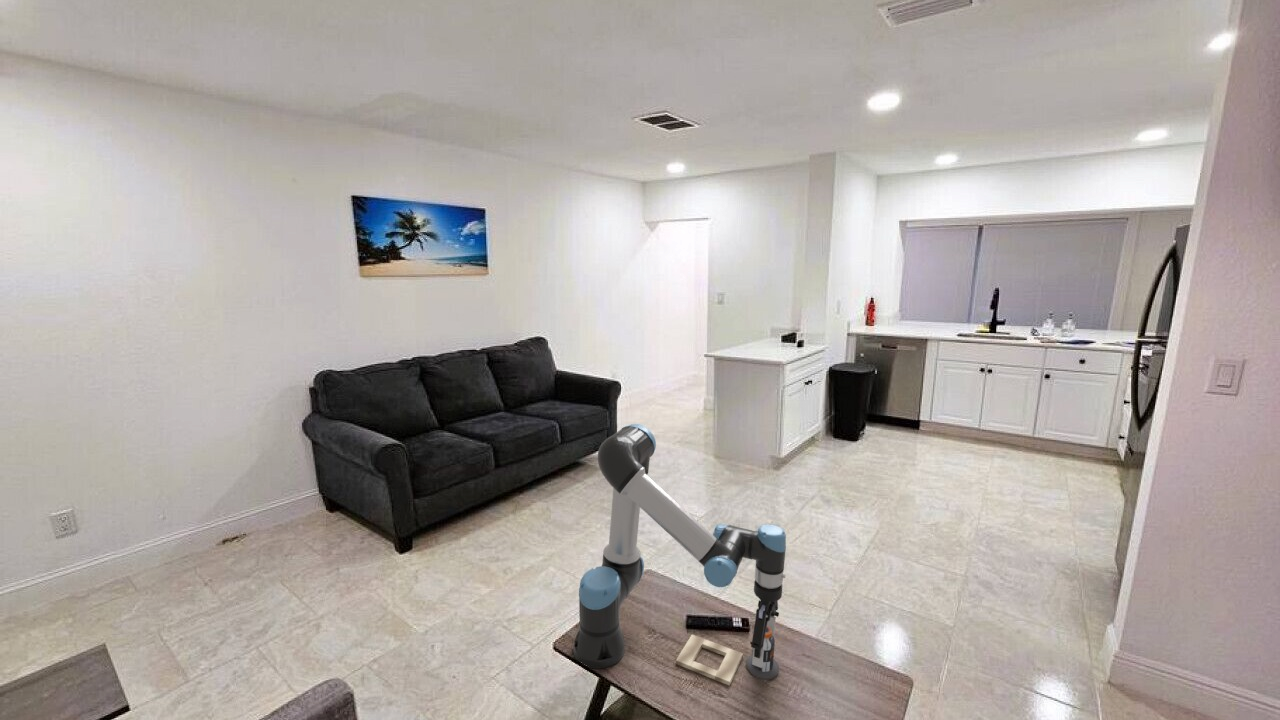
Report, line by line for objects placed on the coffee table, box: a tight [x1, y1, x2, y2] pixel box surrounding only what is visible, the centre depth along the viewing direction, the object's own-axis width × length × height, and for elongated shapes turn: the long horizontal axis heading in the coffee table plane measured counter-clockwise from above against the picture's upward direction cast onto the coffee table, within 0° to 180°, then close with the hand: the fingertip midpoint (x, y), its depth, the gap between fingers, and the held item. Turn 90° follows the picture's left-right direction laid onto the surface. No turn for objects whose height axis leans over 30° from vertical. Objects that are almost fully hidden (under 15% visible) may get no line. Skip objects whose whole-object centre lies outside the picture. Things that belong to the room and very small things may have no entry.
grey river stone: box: [745, 653, 780, 681], centre depth 147 cm, size 9×9×1 cm
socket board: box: [675, 634, 744, 687], centre depth 149 cm, size 16×12×1 cm
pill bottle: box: [751, 626, 776, 672], centre depth 146 cm, size 6×6×11 cm
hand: (763, 650), depth 146 cm, fingers open, 12 cm apart
